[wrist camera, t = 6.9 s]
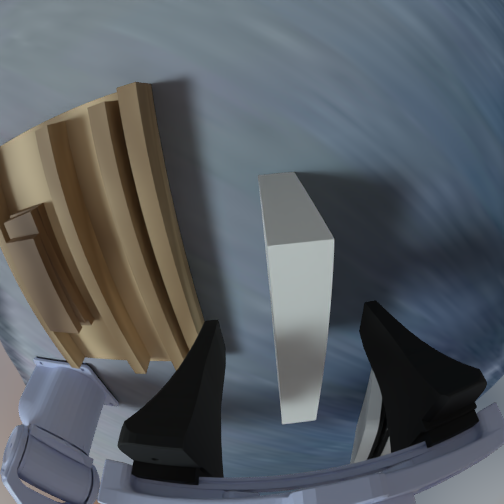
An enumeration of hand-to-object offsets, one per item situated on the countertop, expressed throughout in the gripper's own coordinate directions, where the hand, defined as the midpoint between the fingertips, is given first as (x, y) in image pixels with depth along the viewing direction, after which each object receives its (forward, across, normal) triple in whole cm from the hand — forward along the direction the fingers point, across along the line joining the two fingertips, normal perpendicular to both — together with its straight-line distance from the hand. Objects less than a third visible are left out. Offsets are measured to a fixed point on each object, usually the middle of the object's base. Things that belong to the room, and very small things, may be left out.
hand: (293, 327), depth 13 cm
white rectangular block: (+6, 0, 0) cm, 6 cm away
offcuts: (+5, +16, -2) cm, 17 cm away
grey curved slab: (+6, -10, +21) cm, 24 cm away
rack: (+6, +13, -2) cm, 14 cm away
